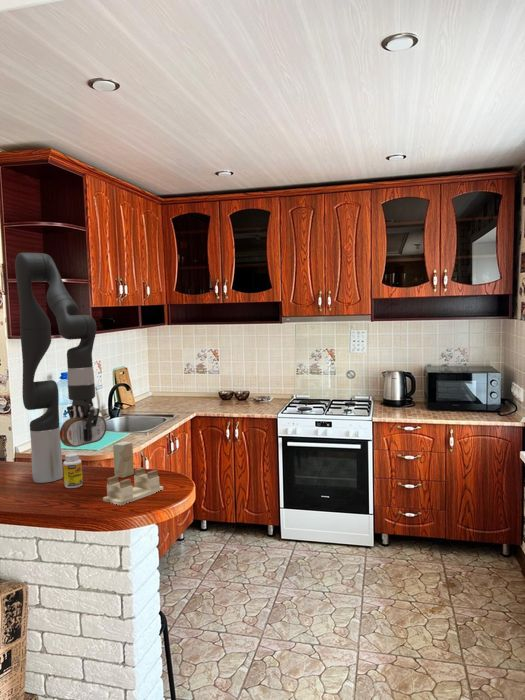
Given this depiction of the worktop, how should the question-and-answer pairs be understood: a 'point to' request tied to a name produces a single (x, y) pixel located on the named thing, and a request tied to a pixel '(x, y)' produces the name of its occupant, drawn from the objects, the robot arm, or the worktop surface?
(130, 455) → the box
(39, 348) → the robot arm
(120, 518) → the worktop surface
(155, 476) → the cradle
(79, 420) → the tin
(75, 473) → the supplement bottle
